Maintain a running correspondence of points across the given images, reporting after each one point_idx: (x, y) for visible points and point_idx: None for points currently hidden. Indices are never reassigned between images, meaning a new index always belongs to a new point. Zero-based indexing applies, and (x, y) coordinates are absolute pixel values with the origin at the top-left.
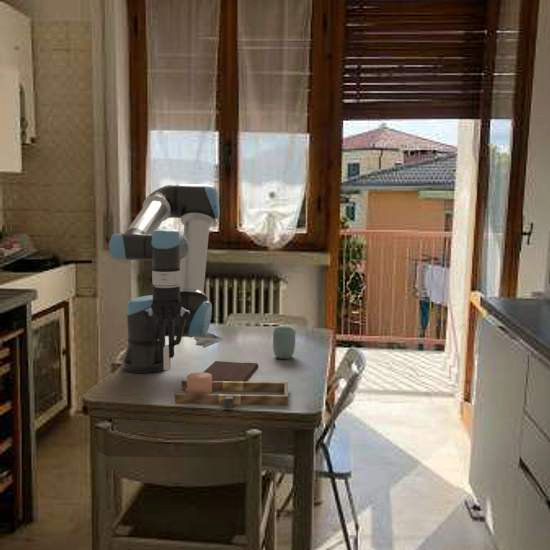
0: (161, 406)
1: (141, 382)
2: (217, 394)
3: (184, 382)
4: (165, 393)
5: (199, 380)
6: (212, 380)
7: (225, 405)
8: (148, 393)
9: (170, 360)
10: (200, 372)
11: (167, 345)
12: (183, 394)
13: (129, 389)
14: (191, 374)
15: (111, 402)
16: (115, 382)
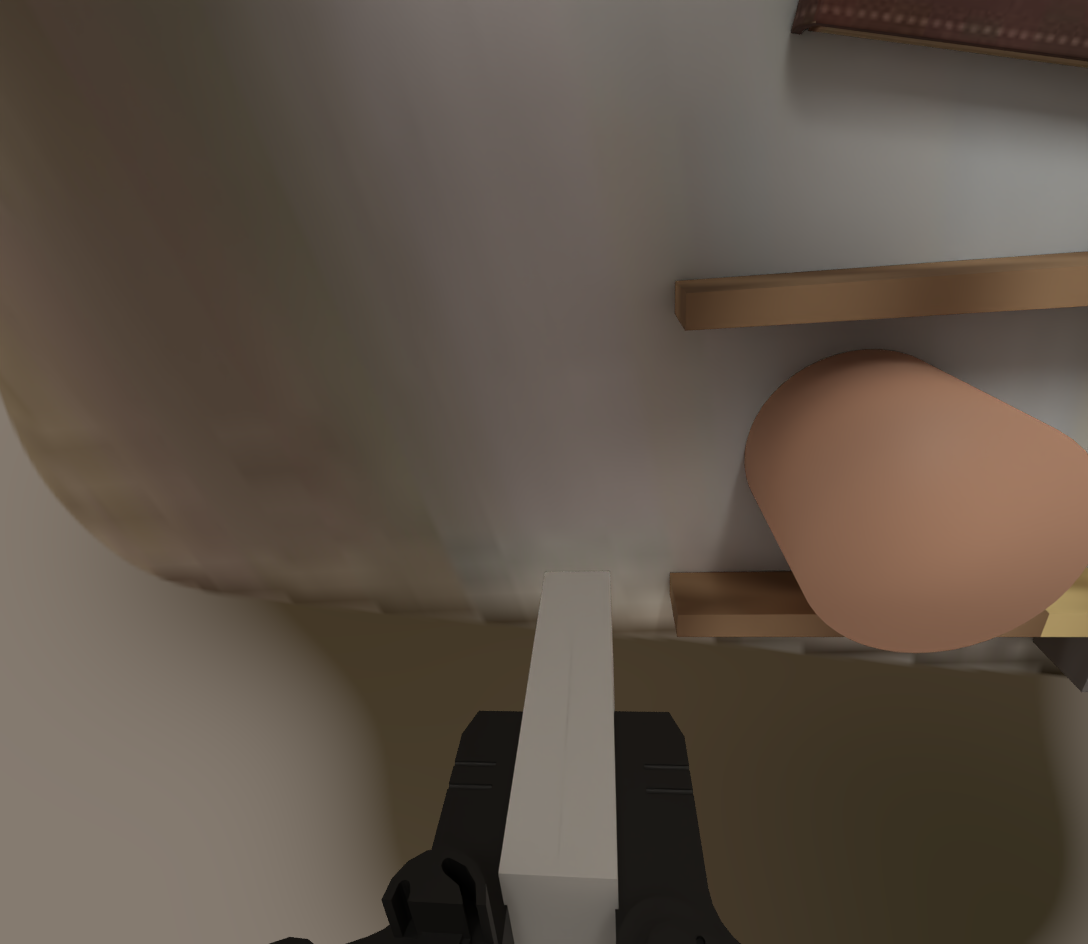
0: None
1: (229, 128)
2: (1034, 620)
3: (717, 326)
4: (554, 409)
5: (931, 650)
6: (1043, 53)
7: (1046, 652)
8: (421, 421)
9: (611, 643)
10: (968, 419)
11: (560, 902)
12: (744, 629)
13: (234, 346)
14: (847, 502)
15: (263, 593)
16: (5, 168)
